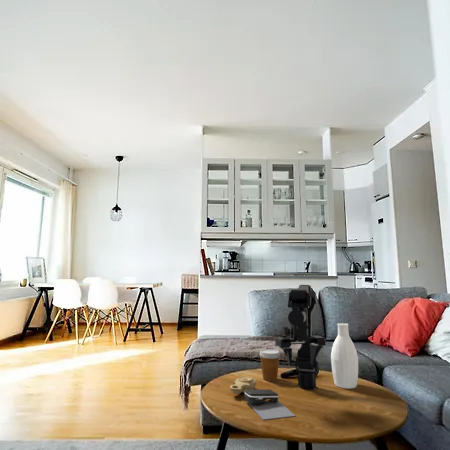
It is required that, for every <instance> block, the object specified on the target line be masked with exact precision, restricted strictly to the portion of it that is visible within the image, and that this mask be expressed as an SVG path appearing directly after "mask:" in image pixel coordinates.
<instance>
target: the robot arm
mask: <svg viewBox="0 0 450 450" xmlns="http://www.w3.org/2000/svg"><path fill="white" fill-rule="evenodd" d="M317 305H318V299H317V292H316V291H315V290H314V289H313V288H312V286H311V285H309V284H300V285H298V288H297V289H295V288H291V290H290V291H288V302H287V308H290V309H291V311H290V312H289V313H288V316H287V320H288V322H289V324H290V328H288V326H285V327H284V326H283V327H282V328H281V335H282V336H279V337H276V338H275V341H274V345H275V346H277V347H278V348H279V349H281V350H282V351H283V353H284V355H285V359H286V361H287V364H288V366H289V367H292V362H293V359H292V358H293V349H292V345H301V346H300V348H299V349H298V350H297V354H296V356H295V370H296V372H297V373H298V375H297V383H296V384H297V386H298V387H300V388H301V389H302V390H303V391H306V390H307V391H309V390H317V389H319V387H318V386H317V381H316V378H317V376H316V375H317V374H320V367H319V361H318V360H317V357H318V355H319V352H320V351H321V349H323V348H324V346H327V340H326V338H325V337H323V336H320V335H312V330H313V329H312V327H313V326H312V325H313V324H312V323H313V321H312V320H313V319H312V318H313V313H314V312H315V310H316V306H317Z"/></svg>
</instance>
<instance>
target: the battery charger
mask: <svg viewBox="0 0 450 450" xmlns="http://www.w3.org/2000/svg"><path fill="white" fill-rule="evenodd" d="M244 400H245V401H246V402H248V404H249V403H250V404H253V405H262V404H263V402H265V401H266V400H270V401H274V402H278V401H279V394H278V392H276V391H274V390H272V389H270V388H268V389H266V388H265V389H262V388H260V389H257V388H256V389H255V388H254V389H247V390H245V392H244Z"/></svg>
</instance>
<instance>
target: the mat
mask: <svg viewBox="0 0 450 450" xmlns="http://www.w3.org/2000/svg"><path fill="white" fill-rule="evenodd" d="M248 405H249V406H250V407H251V408H252V410H254V412H255V413H256V414H257V415H258V416H259V418H260V419H261V420H262V421H267V420H276V419H283V418H284V419H286V418H292V417H296V415H295V414H294V413H293V412H292V411H291V410H290V409H289V408H287V407H286V406H285V405H284V404H283V403H281V402H280V401H279V400H278V402H274V401H272V400H267V401H266V400H265V401H263V404H262V405H253V404H250V403H249V402H248Z"/></svg>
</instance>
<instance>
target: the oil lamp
mask: <svg viewBox="0 0 450 450" xmlns="http://www.w3.org/2000/svg"><path fill="white" fill-rule="evenodd" d="M257 385H258V384H257V380H256V379H255V378H253V377H252V376H249V375H241V376H239V377H238V378H236V379H235V380H234V381H233V384H230V385H229V389H230V392H231V393H232V394H234V395H237V394H241V393H245V390H247V389H255V388H256V386H257Z"/></svg>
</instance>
